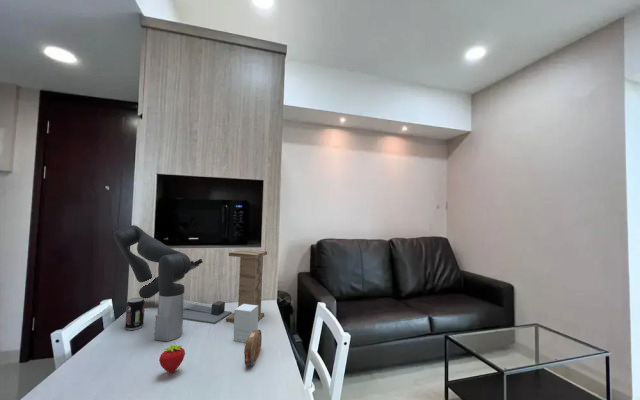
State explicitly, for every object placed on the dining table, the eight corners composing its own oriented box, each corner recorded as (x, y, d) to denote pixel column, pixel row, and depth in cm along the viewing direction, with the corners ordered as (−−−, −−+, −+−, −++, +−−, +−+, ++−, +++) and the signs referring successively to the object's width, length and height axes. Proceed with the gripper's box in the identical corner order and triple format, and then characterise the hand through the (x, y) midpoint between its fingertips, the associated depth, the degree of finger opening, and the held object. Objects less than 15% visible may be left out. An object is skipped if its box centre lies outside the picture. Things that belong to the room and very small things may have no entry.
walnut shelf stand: (252, 325, 126) (255, 255, 127) (225, 321, 129) (228, 252, 131) (264, 316, 138) (267, 251, 139) (239, 312, 141) (241, 249, 142)
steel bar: (218, 315, 134) (218, 305, 134) (179, 308, 140) (180, 298, 141) (224, 312, 139) (225, 302, 139) (186, 305, 145) (187, 295, 145)
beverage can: (141, 329, 118) (143, 301, 118) (122, 331, 116) (124, 302, 116) (144, 323, 124) (146, 296, 125) (127, 325, 122) (129, 297, 122)
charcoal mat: (214, 324, 126) (214, 322, 126) (170, 317, 132) (170, 315, 132) (231, 313, 140) (231, 311, 140) (190, 307, 146) (191, 306, 146)
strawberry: (154, 375, 87) (156, 342, 87) (179, 365, 93) (180, 334, 93) (163, 382, 83) (164, 348, 84) (187, 371, 89) (189, 340, 89)
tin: (251, 370, 91) (252, 344, 91) (241, 370, 91) (243, 344, 91) (262, 348, 106) (262, 325, 106) (253, 347, 106) (254, 325, 106)
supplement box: (258, 335, 116) (259, 305, 117) (249, 343, 109) (250, 311, 110) (242, 333, 118) (243, 303, 119) (232, 340, 111) (234, 308, 112)
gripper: (159, 271, 138) (184, 257, 135) (180, 266, 152) (204, 252, 149) (164, 285, 137) (190, 271, 134) (185, 279, 151) (209, 265, 148)
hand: (197, 261), depth 141 cm, fingers open, 5 cm apart
